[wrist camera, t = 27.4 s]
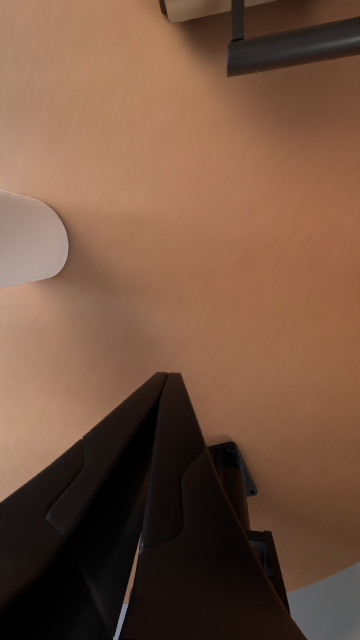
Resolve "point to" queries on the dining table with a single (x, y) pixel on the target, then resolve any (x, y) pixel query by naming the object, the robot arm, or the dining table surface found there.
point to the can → (29, 240)
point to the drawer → (272, 38)
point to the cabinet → (162, 6)
